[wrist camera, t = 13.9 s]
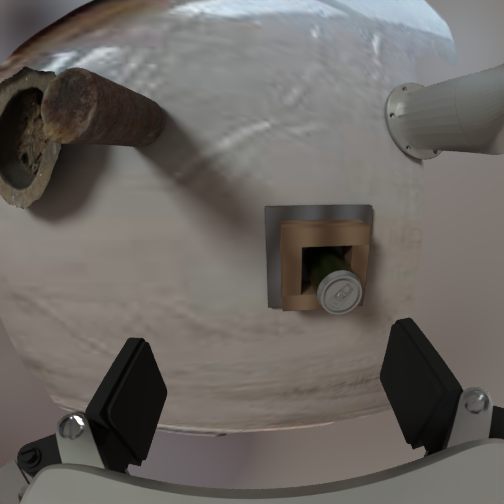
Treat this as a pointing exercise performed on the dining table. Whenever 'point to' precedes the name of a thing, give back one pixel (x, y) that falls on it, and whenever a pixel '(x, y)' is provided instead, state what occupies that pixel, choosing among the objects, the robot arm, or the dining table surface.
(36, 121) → the stone bowl
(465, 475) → the robot arm
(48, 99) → the brown cylinder
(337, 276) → the beer can
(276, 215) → the well block
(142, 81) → the dining table surface
